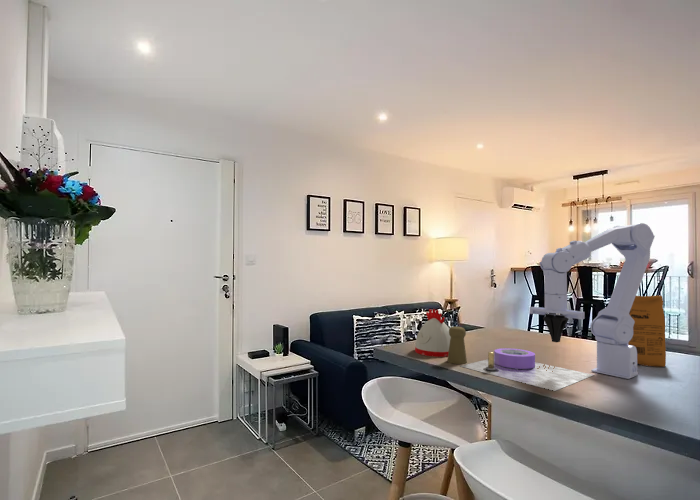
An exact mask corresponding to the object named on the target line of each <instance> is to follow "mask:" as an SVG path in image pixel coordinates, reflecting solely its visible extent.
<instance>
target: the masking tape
mask: <svg viewBox="0 0 700 500" xmlns="http://www.w3.org/2000/svg"><path fill="white" fill-rule="evenodd" d="M493 351H494V363H495V364H497V365H499V366H503V367H508V368H515V369H530V368H534V367H535V362H536V353H535V352H532V351H530V350H526V349H519V348H508V347H507V348H505V347H504V348H496V349H494V350H493Z"/></svg>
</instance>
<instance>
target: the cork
mask: <svg viewBox="0 0 700 500" xmlns="http://www.w3.org/2000/svg"><path fill="white" fill-rule="evenodd" d="M449 335H450V337H451V338H450V345H449V352H448V357H447V359H446V360H447V363H450V364H452V365H466V364H468V360H467V359H468V358H467V353H466V345H465V344H466V343H465V337H466V335H467V332H466V329H465V327H462V326H451V327H449Z"/></svg>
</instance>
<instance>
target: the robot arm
mask: <svg viewBox="0 0 700 500" xmlns="http://www.w3.org/2000/svg"><path fill="white" fill-rule="evenodd" d="M655 236H656V235H654V232H653V231H652V228H651V227H650V226H649V225H648V224H646V223H643V222H639V223H636V224H627V225H626V224H624V225H616V226H613V227H610V228H606V230H604V231H603V232H601V233H599V234H597V235H595V236H593V237H591V238H589V239H588V240H586V241H582V240H571V241H570V242H569V244H568V245H565V246H564V247H557V248H556V250H555V252H548V253H546V254H544V255H543V257H542V258H541V260H540V261H539V266H540V268H541V270H542V271H543V272H542V273H543V276H544V307H540V306H539V307H536V306H530V307H529V314H530V315H540V316H544V317H542V319H543V321H544V324H545V325H546V327H547V330H548V331H549V334H550V338H551V342H552V343H559V342H561V338H562V335H563V331H564V329H565V327H566V325H567V324H568V322H569V320H570V319H577V320H584V319H585V318H586V317H585V311H579V310H573V309H568V293H567V292H568V277H567V275H568V272H569V271H570V270H571V269H572V266H575V265H577V264H579V263H581V262H583V261H585V260H587V259H589V258H590V257H591V254H592V252H594V251H596V250H599V249H601V248H604V247H607V246H609V245H612V246H613V247H614V248H615V249H616V250H617V251H618V252H619V253H620V254H621V255H622V256H623V257H624V259H625V260H624V261H623V262H624V263H623V265H622V268H621V270H620V273H619V275H618V278H617V281H616V284H615V286H614V289H613V291H612V294H611V297H610V298H609V301H608V305H607V306H606V307H604V308H603V309H601V310H600V311H598V313H597V316H596V317H595V318H594V319H592V320H591V323H590V331H591V333H592V334H593V336H595V337H594V339H595V340H596V367H594V368H592V369H591V370H590V371H591V372H593V373H598V374H602V375H603V374H604V375H607V376H612V377H617V378H621V379H628V380H630V379H631V378H634V377H636V376H638V375H639V373H638V364H637V349H636V347H635V346H632V345H628V342H629V341H630V340H631V339H632V337H633V326H634V323H635V321H634V320H633V318H632V317H631V316H630V315H629V312H630V310H631V307H632V304H633V302H634V299H635V296H637V294H638V291H639V288H640V285H641V283H642V280H643V277H644V275H645V272H646V270H647V267H648V265H649V261H650V259H651V248H652V244H653V243H654V240H655Z"/></svg>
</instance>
